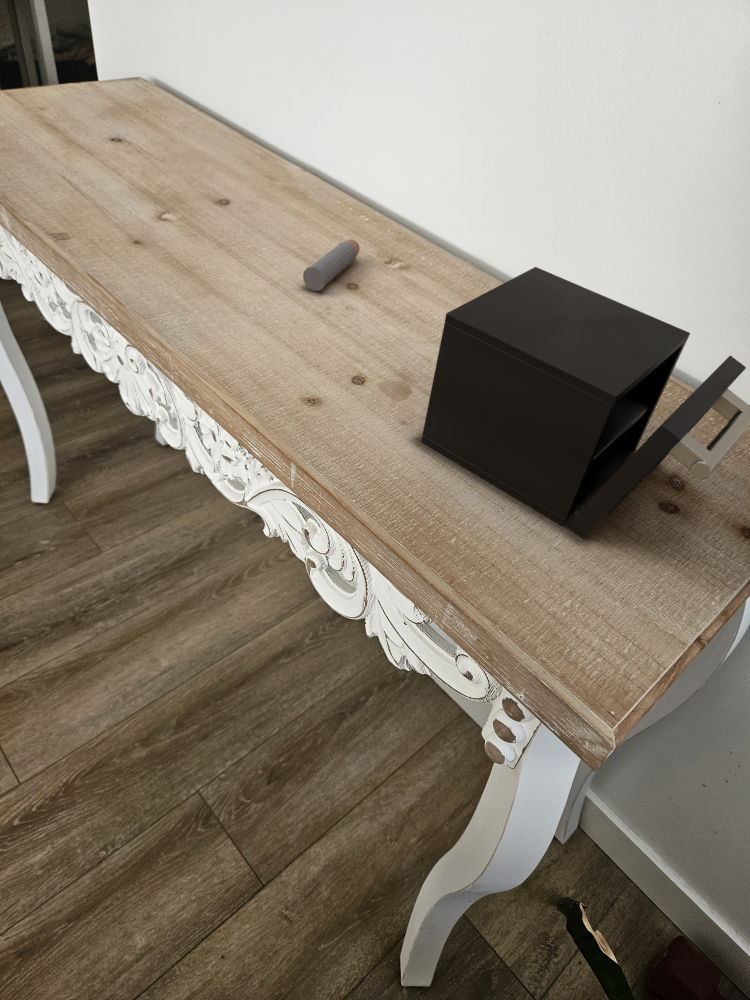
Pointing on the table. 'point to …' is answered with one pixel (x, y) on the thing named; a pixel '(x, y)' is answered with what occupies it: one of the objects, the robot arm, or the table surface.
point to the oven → (547, 388)
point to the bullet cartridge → (330, 265)
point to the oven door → (677, 443)
